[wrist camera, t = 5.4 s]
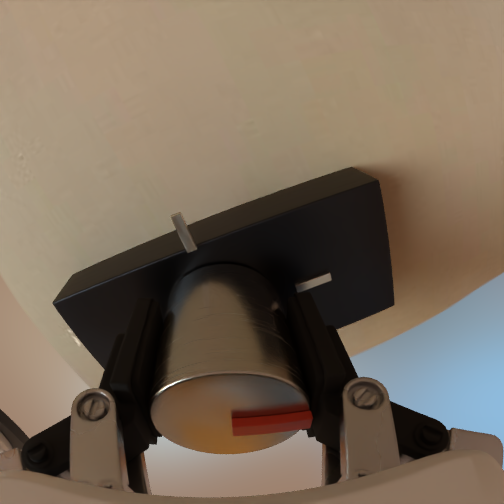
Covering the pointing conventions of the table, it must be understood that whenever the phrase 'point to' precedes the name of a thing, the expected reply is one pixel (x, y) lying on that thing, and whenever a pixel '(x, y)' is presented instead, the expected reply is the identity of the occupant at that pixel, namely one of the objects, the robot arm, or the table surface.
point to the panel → (251, 258)
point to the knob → (227, 365)
